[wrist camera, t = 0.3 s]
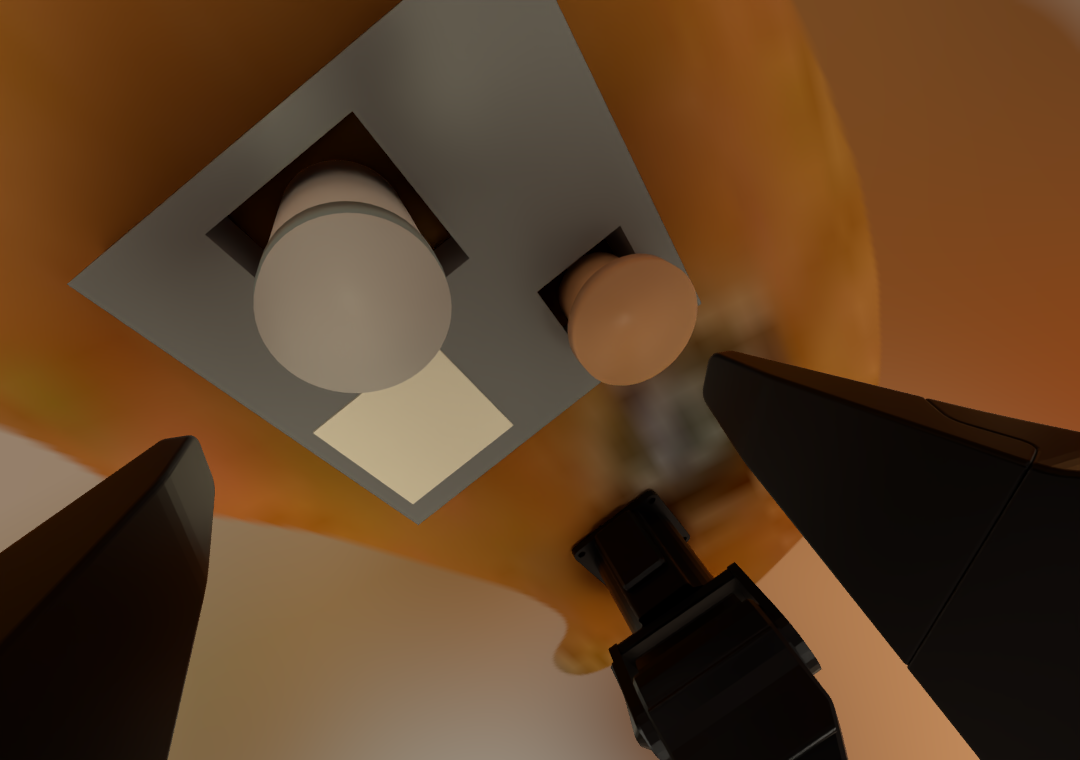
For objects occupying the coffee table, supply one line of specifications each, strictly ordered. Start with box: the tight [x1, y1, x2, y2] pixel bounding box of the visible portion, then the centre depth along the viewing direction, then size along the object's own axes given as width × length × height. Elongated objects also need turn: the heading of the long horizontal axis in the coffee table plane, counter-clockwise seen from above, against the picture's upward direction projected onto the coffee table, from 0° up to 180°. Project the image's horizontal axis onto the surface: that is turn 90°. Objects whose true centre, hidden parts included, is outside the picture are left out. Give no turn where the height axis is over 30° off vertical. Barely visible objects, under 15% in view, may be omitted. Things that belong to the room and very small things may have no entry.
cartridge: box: [253, 160, 452, 393], centre depth 16 cm, size 4×4×8 cm
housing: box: [68, 0, 701, 525], centre depth 20 cm, size 15×16×3 cm
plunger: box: [559, 252, 698, 386], centre depth 20 cm, size 5×5×4 cm
